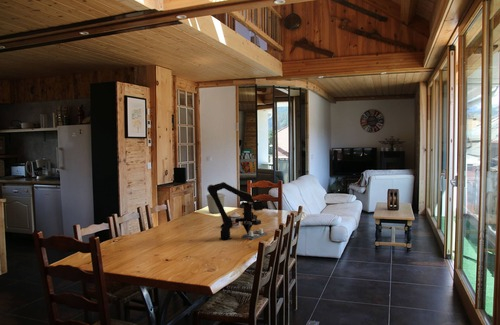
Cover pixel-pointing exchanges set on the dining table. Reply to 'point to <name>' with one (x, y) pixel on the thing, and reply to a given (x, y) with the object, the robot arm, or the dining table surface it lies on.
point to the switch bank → (256, 235)
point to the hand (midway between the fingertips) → (248, 233)
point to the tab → (260, 231)
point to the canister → (212, 205)
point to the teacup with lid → (233, 218)
